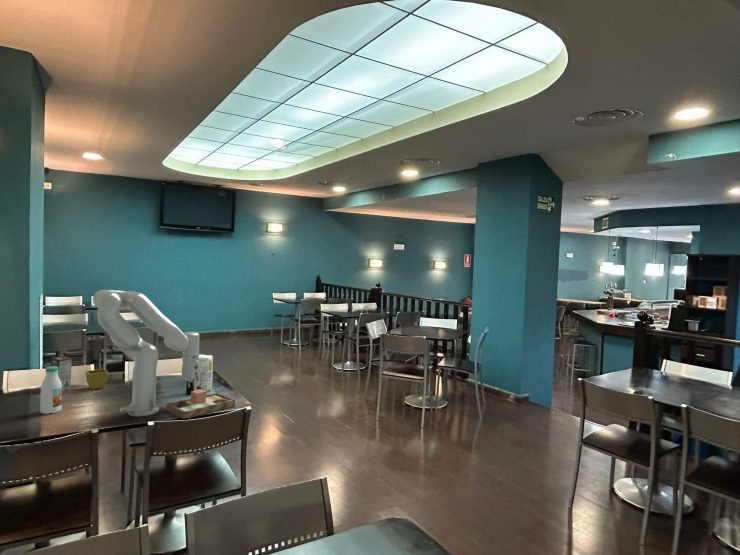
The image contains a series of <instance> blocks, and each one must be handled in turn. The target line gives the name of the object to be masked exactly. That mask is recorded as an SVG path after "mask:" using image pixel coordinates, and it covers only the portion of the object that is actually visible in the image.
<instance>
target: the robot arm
mask: <svg viewBox="0 0 740 555" xmlns="http://www.w3.org/2000/svg"><path fill="white" fill-rule="evenodd" d="M92 303H93V305H94V306H96V308H97V310H96V317H97V322H98V324H99V325H100V327H101V328H102V329H103V330H104V331H105V332H106V333H107V334H108V336H110V337H109V338H110V340H111V342H112V343H113V344H114V345H115V346H116V347H117V348H118V349H119V350H120V351H121V352H122V353H123V354H125V355H126V356H127V357H128V358H129V359H130V360H132V361H134V364H133V365H134V366H133V369H132V370H133V371H132V390H131V391H132V396H131V402H129V405H127V406H122V407H119V408H120V409H119V410H120V411H119V412H121V413H124V412H125V413H127V415H129V416H131V417H149V416H152V415H154V414H157V413H159V411H160V407H159V406H157V405H156V399H157V398H156V396H157V366H158V361H159V351H158V349H157V347H156V346H155V345H154V344H152V343H149V342H147V341H145V340H144V339H142V337H141V334H140V333H139V331H138V330H137V329H136V328H135V327H133V326H132V325H131V324H130V323H129V322H128V321H127V320H126V319H125V318H124V317H123V316H122V314H121V313H120V310H129V311H131V312H132V313H133V314H134V315H135V316H136V317H137V318H138V319H139V320H140V321H141V322H142V323H143V324H144V325H145V326H146V327H147V328H148V329H150V330H151V331H153V332H154V333H156V334H158V335H159V336H160V337H162V338H163V343H164V344H165V347H167V348H169V349H171V350H174V351H176V352H182V357H181V358H182V364H181V379H183V381H184V383H185V395H186V396H191V391H194V386H195V385H196V384H197V381H200V363H199V355H200V333H199V332H196V331H188V332H187V331H186V332H183V331H182V330H181V329H180V328H179V327H178V326H177V325H176V324H175V323H173V322H172V321H171V320H170V319H169V318H168V317H167V316H166V315H164V314H163V312H161V311H160V309H159V308H158V307H157V306H156V305H155V304H154V303H153V302H152V301H151V300H150V299H149V298H148V297H147V296H146V295H145V294H143V293H141V292H137V291H133V290H131V291H129V290H128V291H127V290H115V289H112V290H111V289H100V290H98V291H96V292H95V293H94V294H93V296H92Z"/></svg>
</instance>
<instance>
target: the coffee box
mask: <svg viewBox="0 0 740 555" xmlns="http://www.w3.org/2000/svg"><path fill="white" fill-rule="evenodd" d="M72 360H73V359H72V358H71V357H68V356H66V355H61V356H55V357H51V358H50V367H51V366H57V367H58V372H57V374H58V377H59V379H60V381H61V384H62V391H65V389H67V390H71V389H72V365H73V364H72V363H73V362H72ZM70 388H71V389H70Z"/></svg>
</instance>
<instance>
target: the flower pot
mask: <svg viewBox="0 0 740 555" xmlns="http://www.w3.org/2000/svg"><path fill="white" fill-rule="evenodd" d="M108 375H109V371H108V370H106V369H105V368H101V369H91V370H86V371H85V377H86V382H87V384H88V387H89V388H90V389H91V390H93V389H94V390H97V389H103V388H105V386H106V383H107V380H108Z"/></svg>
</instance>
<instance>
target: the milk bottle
mask: <svg viewBox="0 0 740 555" xmlns="http://www.w3.org/2000/svg"><path fill="white" fill-rule="evenodd" d="M44 370H45V377H44V378H43V381H42V383H41V387H40V399H39V400H40V403H39V404H40V405H39V406H40V408H39V410H40V411H39V412H40V414H42V413H43V414H44V415H50V413H52V414H56V413H59V412H61V410H62V409H63V408H62V407H63V406H62V405H63V404H62V403H63V402H62V401H63V393H62V392H63V390H62V384H61V381H60V379H59V377H58V374H57V372H58V367H57V366H51V365H50V366H47V367H45V369H44ZM43 414H42V415H43Z"/></svg>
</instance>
